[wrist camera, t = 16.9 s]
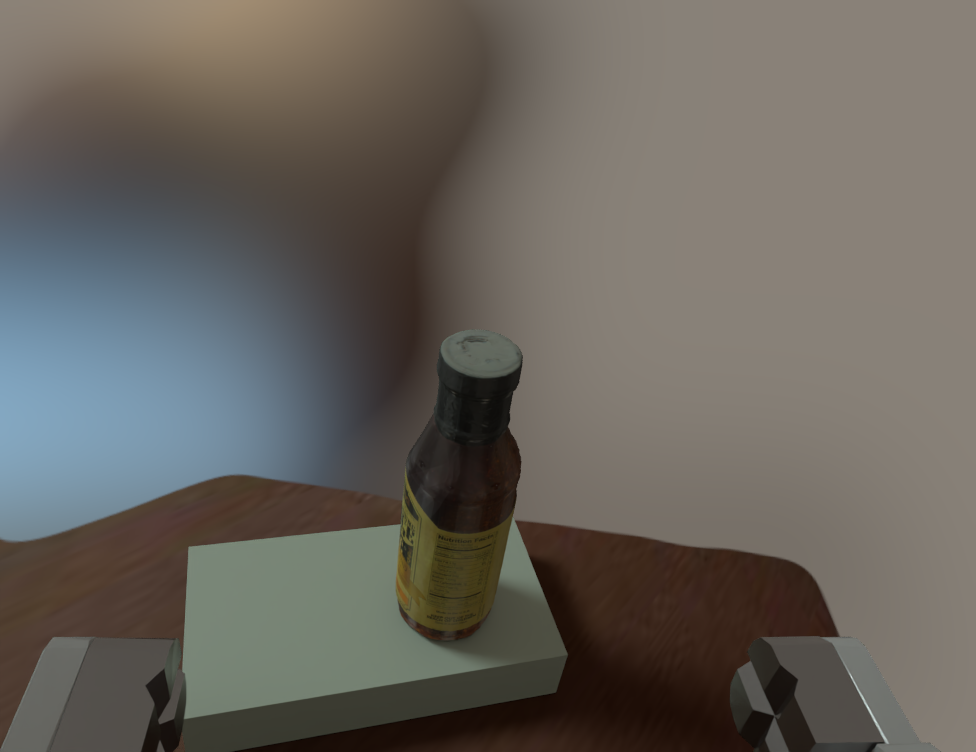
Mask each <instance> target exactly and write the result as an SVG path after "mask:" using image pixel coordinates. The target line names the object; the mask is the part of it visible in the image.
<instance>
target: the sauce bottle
mask: <svg viewBox="0 0 976 752" xmlns="http://www.w3.org/2000/svg"><path fill="white" fill-rule="evenodd" d="M522 358H523V356H522V353H521V351H520V349H519V347H518V346H517V345H516V344H514V343H513V342H512V341H511V340H510V339H508V338H507V337H505V336H503V335H501V334H498V333H495V332H491V331H487V330H467V331H462V332H458V333H456V334H454V335H452V336H450V337H448V338H447V339H446V340H445V341H443V342H442V344H441V347H440V352H439V359H438V363H437V372H438V376H439V389H438V397H437V403H436V406H435V407H434V413H433V415H432V417H431V419H430V421H429V422H428V424H427V426H426V427H425V429H424V431H423V433H422V434H421V436H420V437H419V439H418V440H417V442H416V443H415V445H414V446H413V448H412V449H411V451H410V453H409V455H408V457H407V461H406V470H405V480H404V493H403V503H402V513H401V526H400V537H399V548H398V560H397V572H396V585H395V587H396V596H397V600H398V605H399V611H400V614H401V616H402V618H403V619H404V621H405V622H406V623H407V624H408V626H410V627H411V628H413V629H415V630H416V631H417V632H418V633H420V634H422V635H423V636H425V637H428V638H431V639H435V640H443V641H448V640H458V639H462V638H466V637H469V636H471V635H472V634H473V633H474V632H475V631H476V630H478V629H479V628H480V627H481V625H482V624H483V622H484V621H485V619H486V618H487V616H488V614H489V612H490V610H491V608H492V605H493V603H494V599H495V594H496V591H497V586H498V582H499V578H500V573H501V568H502V564H503V559H504V554H505V550H506V545H507V540H508V535H509V531H510V526H511V522H512V517H513V513H514V508H515V503H516V497H517V494H516V487H517V484H518V481H519V478H520V473H521V469H520V468H521V456H520V454H519V449H518V446H517V443H516V440H515V439H514V437H513V436H512V435H511V433H510V430H509V428H508V424H509V422H510V413H509V412H510V406H511V401H512V395H513V391H514V390H515V389H516V388H517V385H518V383H519V379H520V374H521V368H522Z"/></svg>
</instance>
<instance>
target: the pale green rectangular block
mask: <svg viewBox="0 0 976 752" xmlns="http://www.w3.org/2000/svg"><path fill="white" fill-rule="evenodd" d="M400 526H401V524H400V525H391V526H382V527H372V528H363V529H353V530H344V531H335V532H325V533H316V534H306V535H297V536H288V537H278V538H269V539H259V540H250V541H241V542H231V543H222V544H212V545H203V546H194V547H189V552H188V571H187V591H186V611H185V631H184V650H183V670H182V672H184V673H185V678H186V708H185V715H184V723H183V728H182V734H183V740H184V745H185V751H186V752H232V751H238V750H243V749H249V748H254V747H260V746H265V745H271V744H276V743H282V742H287V741H293V740H298V739H304V738H309V737H315V736H320V735H326V734H331V733H337V732H342V731H348V730H353V729H359V728H364V727H370V726H375V725H381V724H386V723H392V722H397V721H403V720H408V719H414V718H419V717H425V716H430V715H436V714H441V713H447V712H452V711H458V710H463V709H469V708H474V707H480V706H485V705H491V704H496V703H502V702H507V701H513V700H518V699H524V698H529V697H535V696H540V695H546V694H551V693H556V691H557V688H558V684H559V681H560V678H561V675H562V672H563V669H564V666H565V662H566V659H567V656H568V654H567V651H566V649H565V646H564V644H563V641H562V639H561V636H560V634H559V631H558V629H557V626H556V624H555V621H554V619H553V616H552V614H551V611H550V609H549V606H548V604H547V601H546V599H545V596H544V594H543V591H542V588H541V586H540V583H539V581H538V578H537V576H536V573H535V571H534V568H533V566H532V563H531V561H530V558H529V556H528V553H527V551H526V548H525V546H524V543H523V541H522V538H521V536H520V533H519V531H518V528H517V526H516V523H515V521H514V518H513V517H512V522H511V526H510V531H509V535H508V540H507V545H506V550H505V554H504V559H503V564H502V568H501V573H500V578H499V582H498V586H497V591H496V594H495V599H494V603H493V605H492V608H491V610H490V612H489V614H488V616H487V618H486V619H485V621H484V622H483V624H482V625H481V627H480V628H479V629H478V630H476V631H475V632H474V633H473V634H472V635H471V636H469V637H466V638H462V639H458V640H448V641H443V640H435V639H431V638H428V637H425V636H423V635H422V634H420V633H418V632H417V631H416V630H415V629H413V628H411V627H410V626H408V624H407V623H406V622H405V621H404V619H403V618H402V616H401V614H400V611H399V605H398V600H397V596H396V587H395V585H396V572H397V560H398V548H399V537H400Z"/></svg>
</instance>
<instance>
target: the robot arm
mask: <svg viewBox="0 0 976 752" xmlns="http://www.w3.org/2000/svg"><path fill="white" fill-rule="evenodd" d="M747 653H748V655H749V657H750V660H751V661H750V662H748V663H747V664H745V665H744V666H742V667H741V668H739V669H737V671H736V673H735V675H734V678H733V680H732V682H731V689H730V705H731V710H732V715H733V719H734V722H735V724H736V727H737V730H738V733H739V734H740V735H741V736H742V737H743V738H744V739H745V740H746V741H747V742H748V743H749V744H750V745H751V746H752V747H753V748H754V752H941V751H939V750H938V749H937V748H936V747H935V746H933V745H932V744H931V743H921V742H920V741H919V739H918V737H917V735H916V734H915V732H914V730H913V728H912V727H911V725H910V723H909V722H908V720H907V718H906V716H905V715H904V713H903V711H902V709H901V708H900V706H899V704H898V702H897V701H896V699H895V697H894V695H893V694H892V692H891V691H890V689H889V687H888V685H887V683H886V682H885V680H884V678H883V676H882V675H881V673H880V671H879V669H878V668H877V666H876V664H875V663H874V661H873V659H872V657H871V655H870V654H869V652H868V650H867V648H866V647H865V645H864V644H863V643H862V642H860V641H859V640H858V639H857V638H852V637H819V636H810V637H761V638H759V639H757V640H755V641H753V642H752V644H751V646H750V647H749V649H748V651H747ZM181 654H182V652H181V648H180V643H179V638H98V637H53V638H52V640H51V641H50V642H49V643H48V645H47V646H46V647H45V649H44V650H43V652H42V654H41V656H40V659H39V661H38V663H37V666H36V668H35V670H34V673H33V675H32V677H31V680H30V682H29V684H28V687H27V689H26V691H25V694H24V696H23V698H22V701H21V703H20V705H19V708H18V710H17V712H16V715H15V717H14V719H13V721H12V724H11V726H10V728H9V731H8V733H7V735H6V738H5V740H4V742H3V745H2V747H1V749H0V752H173V751H174V750H175V749H176V748H177V747H178V746H179V741H180V737H181V732H182V728H183V723H184V715H185V708H186V678H185V673H184V672H182V671H181V670H179V669H178V666H179V662H180V658H181Z"/></svg>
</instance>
